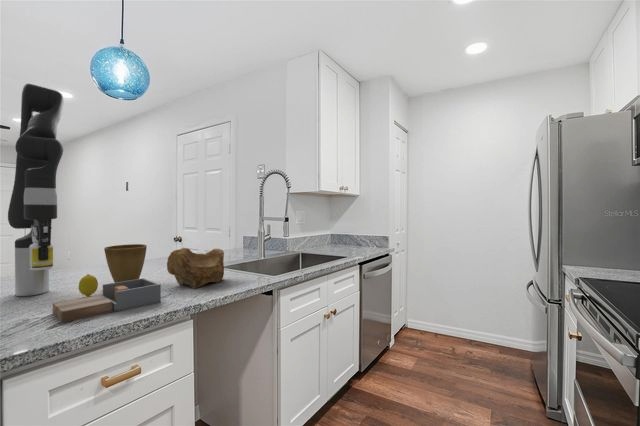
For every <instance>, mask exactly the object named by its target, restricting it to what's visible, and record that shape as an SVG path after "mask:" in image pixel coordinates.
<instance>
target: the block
mask: <svg viewBox="0 0 640 426" xmlns="http://www.w3.org/2000/svg"><path fill="white" fill-rule="evenodd" d="M128 289H129V288H128V287H125V286H117V287H115V302H116V303H117V297H116V291H122V290H128Z"/></svg>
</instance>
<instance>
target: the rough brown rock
mask: <svg viewBox="0 0 640 426" xmlns="http://www.w3.org/2000/svg"><path fill="white" fill-rule="evenodd" d="M224 256H225V252H224V250H223V249H221V248H213V249H211V250H210V251H208V252H206V253H196V252H193V251H192V250H191V249H189V248H188V247H184V248H183V247H181V248H179V249H175V250H173V251H171V252H170V254H169V255H168V257H167V262H166V271H167V272H168V274H170V275H172V276H174V277H175V280H176V282H177V284H179V285H181V286H184V285H186V286H189V287H190V288H192V289H197V288H199V287H203V286H204V285H206V284H208V283H220V282H221V281H222V280H223V279H224V274H225V272H224V271H225V266H224V265H225V264H224V263H225V262H224V258H225V257H224Z"/></svg>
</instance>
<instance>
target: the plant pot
mask: <svg viewBox="0 0 640 426" xmlns="http://www.w3.org/2000/svg"><path fill="white" fill-rule="evenodd" d="M147 247H148V244H141V243H133V244H132V243H131V244H129V243H128V244H119V245H118V244H117V245H111V246H106V247H104V248H103V249H104V255H105V260H106V264H107V267H108V270H109V272H110V275H111V278H112V280H113V283H117V282H123V281H129V280H136V279H140V277H141V274H142V271H143V267H144V263H145V259H146V255H147Z"/></svg>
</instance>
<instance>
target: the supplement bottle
mask: <svg viewBox="0 0 640 426" xmlns="http://www.w3.org/2000/svg"><path fill="white" fill-rule="evenodd" d="M32 242H33V244H31V245H30V246H29V269H30V270H45V269H49V270H50V269H53V267H54V245H53V244H52V243H51V245H50V246H49V247H47V248H48V260H43V261H39V260H38V247H37V245H38V244H37V241H35V237H32ZM42 242H46V241H45V240H44V241H42Z"/></svg>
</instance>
